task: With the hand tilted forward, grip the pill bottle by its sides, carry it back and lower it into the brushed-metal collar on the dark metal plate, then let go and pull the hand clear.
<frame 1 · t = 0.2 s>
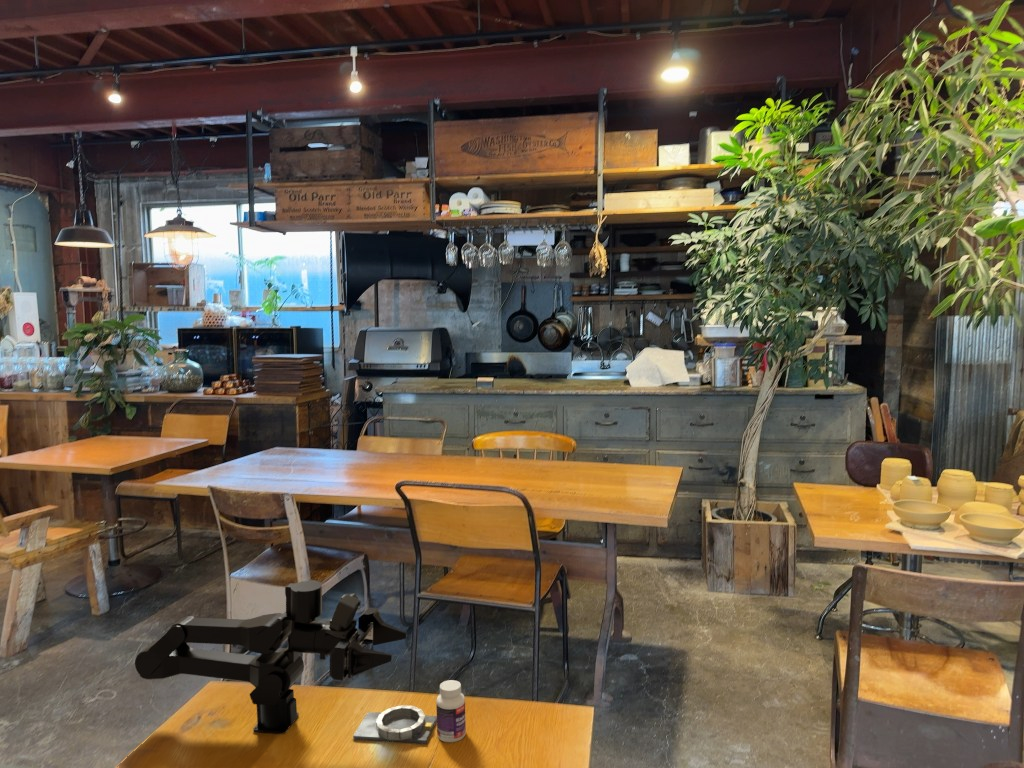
hand: (399, 646, 128), 17 cm above the table, tool horizontal, fingers open, 9 cm apart
collar: (401, 729, 130), resting on plate
pill bottle: (451, 735, 128), on the table
plate: (396, 729, 130), on the table
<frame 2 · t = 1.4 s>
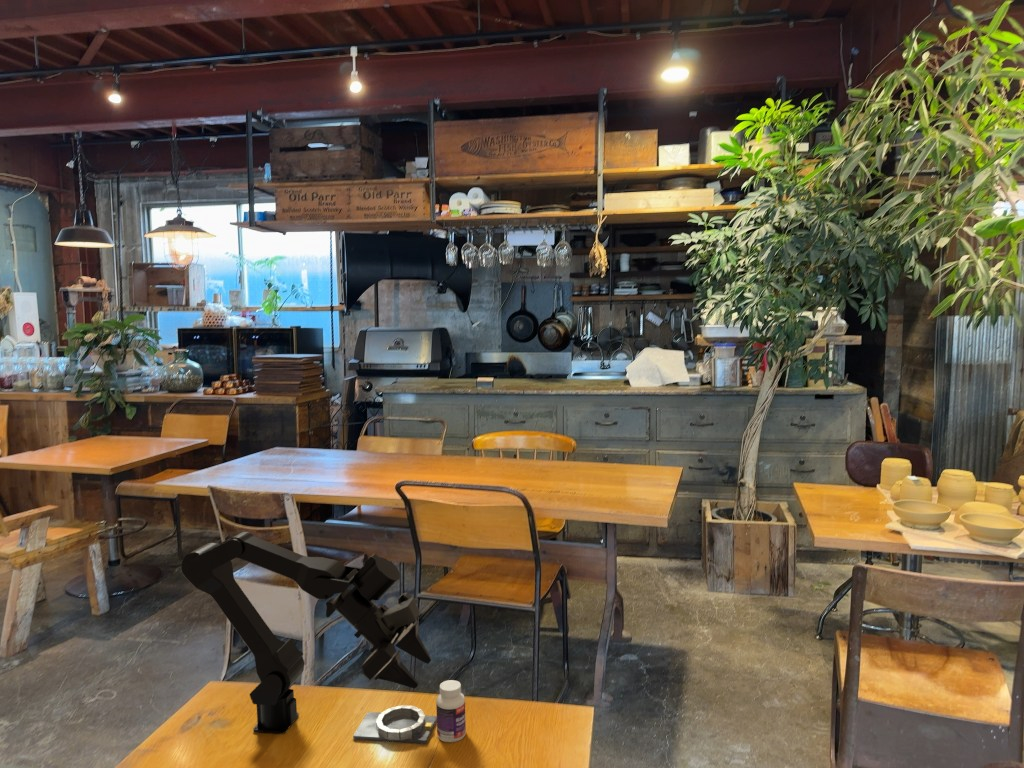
hand: (423, 673, 128), 12 cm above the table, tool tilted 45°, fingers open, 9 cm apart
nothing on the table moved.
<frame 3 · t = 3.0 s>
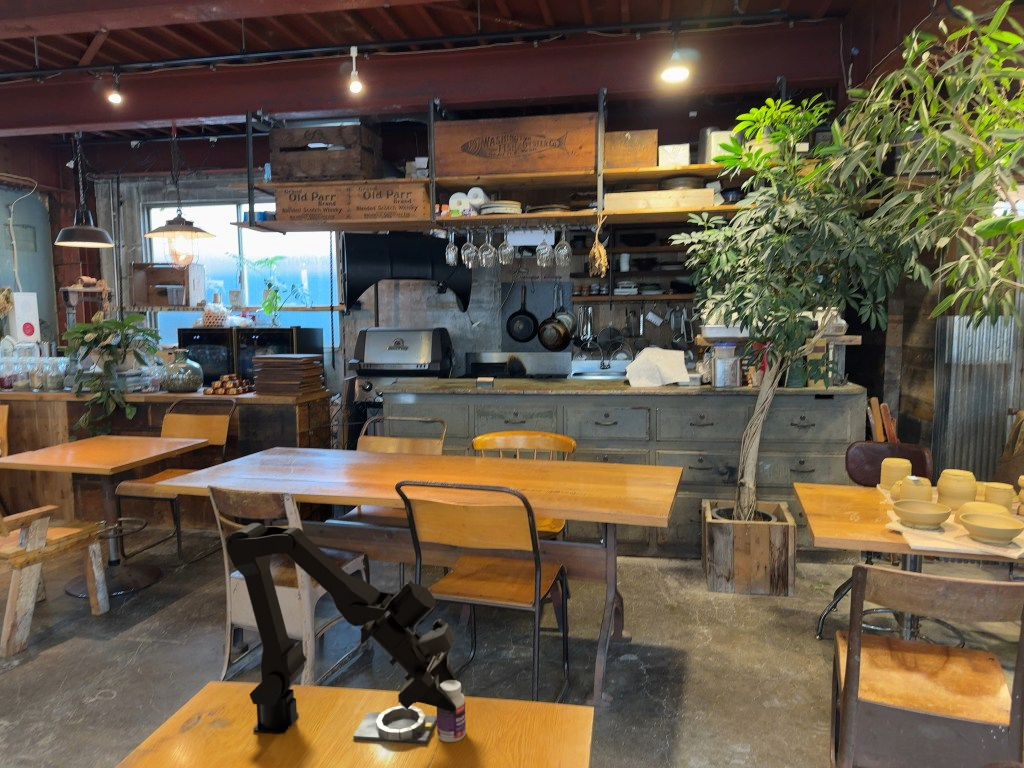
hand: (457, 701, 128), 7 cm above the table, tool tilted 45°, fingers closed on pill bottle, 5 cm apart
pill bottle: (451, 735, 128), on the table, touching gripper
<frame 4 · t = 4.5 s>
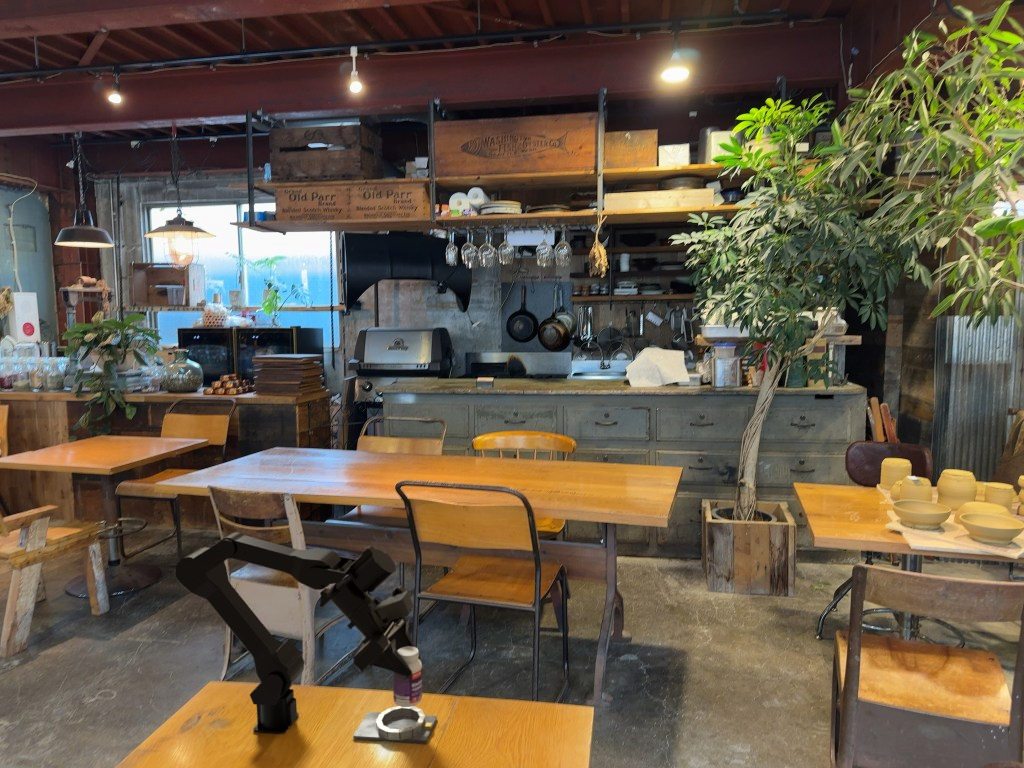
hand: (414, 667, 129), 13 cm above the table, tool tilted 45°, fingers closed on pill bottle, 5 cm apart
pill bottle: (407, 701, 129), point 6 cm above the table, touching gripper
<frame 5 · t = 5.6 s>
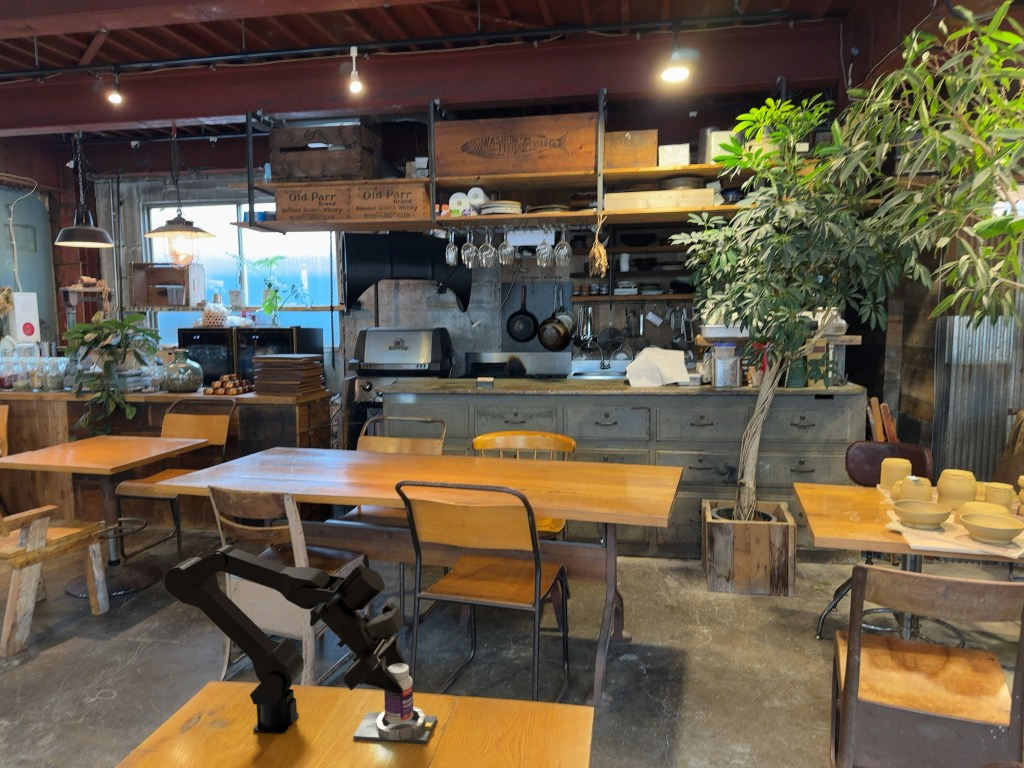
hand: (405, 684, 129), 9 cm above the table, tool tilted 45°, fingers closed on pill bottle, 5 cm apart
pill bottle: (399, 717, 130), point 2 cm above the table, touching gripper
when the fingers open (8 cm above the table, at t = 6.2 s): pill bottle stays where it is, resting on plate.
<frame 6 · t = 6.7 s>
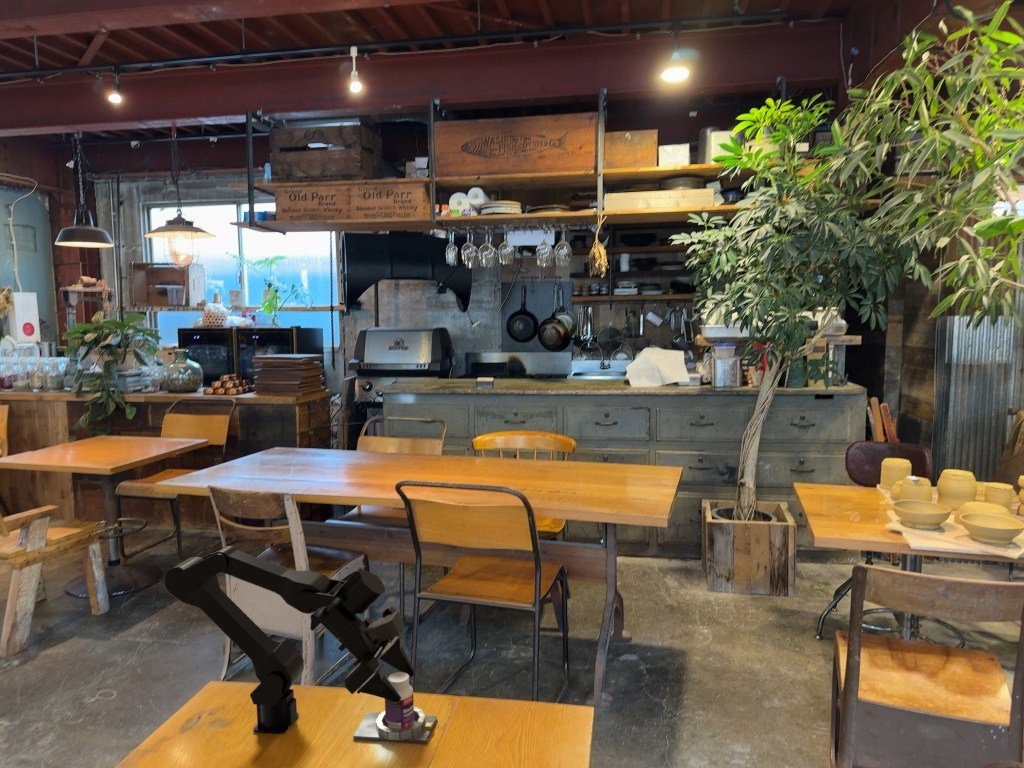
hand: (406, 687, 129), 9 cm above the table, tool tilted 45°, fingers open, 9 cm apart
pill bottle: (400, 726, 130), point 1 cm above the table, touching plate
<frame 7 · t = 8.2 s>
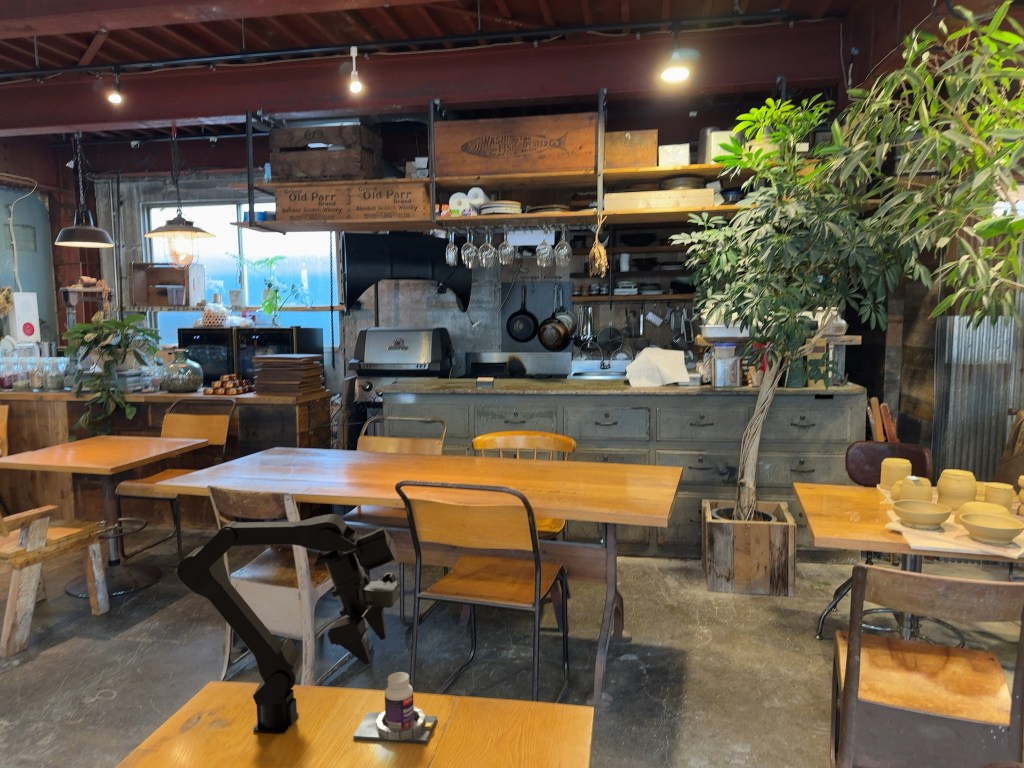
hand: (375, 651, 133), 14 cm above the table, tool tilted 20°, fingers open, 9 cm apart
nothing on the table moved.
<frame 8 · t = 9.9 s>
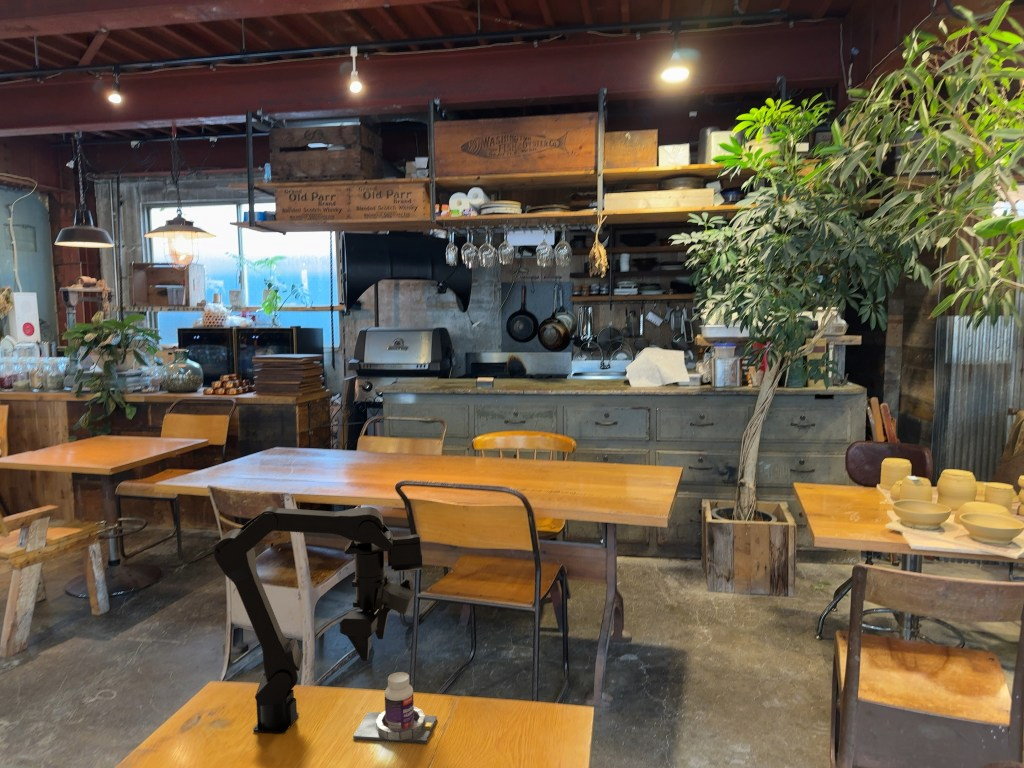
hand: (373, 649, 135), 13 cm above the table, tool pointing down, fingers open, 9 cm apart
nothing on the table moved.
at the end: pill bottle 0.2 cm from the collar (horizontally); pill bottle tilted 0°; the gripper is holding nothing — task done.
